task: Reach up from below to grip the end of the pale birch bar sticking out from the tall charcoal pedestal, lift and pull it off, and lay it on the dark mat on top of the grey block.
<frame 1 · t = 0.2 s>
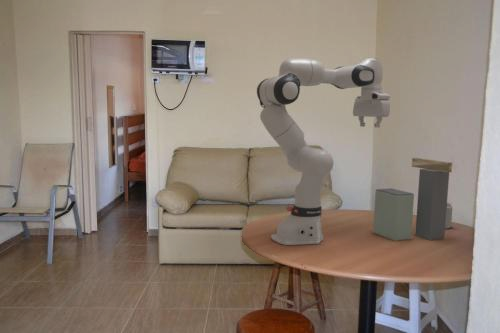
hand: (369, 127, 199), 48 cm above the table, tool pointing down, fingers open, 8 cm apart
can: (442, 227, 214), on the table
bar: (430, 169, 195), point 30 cm above the table, touching pedestal
grey block: (391, 235, 198), on the table
pedestal: (429, 236, 197), on the table
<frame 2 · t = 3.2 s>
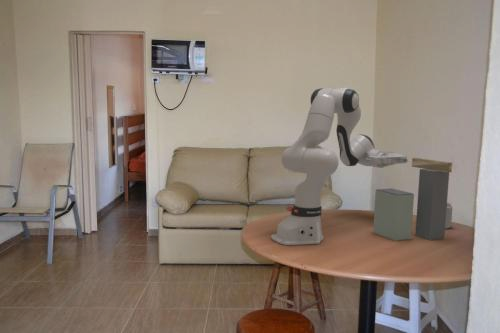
hand: (399, 160, 212), 32 cm above the table, tool horizontal, fingers open, 8 cm apart
nothing on the table moved.
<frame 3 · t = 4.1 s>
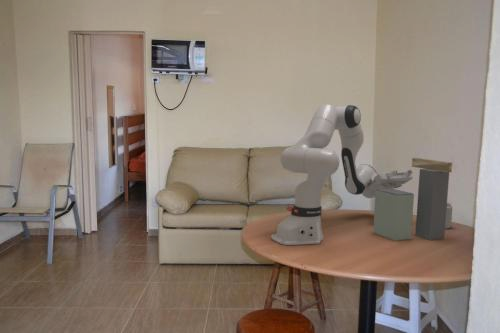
hand: (403, 171, 210), 27 cm above the table, tool pointing upward, fingers open, 8 cm apart
nothing on the table moved.
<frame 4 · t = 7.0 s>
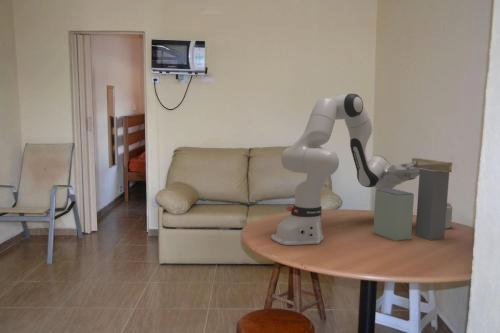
hand: (419, 162, 201), 32 cm above the table, tool pointing upward, fingers closed on bar, 2 cm apart
bar: (430, 169, 195), point 30 cm above the table, touching gripper, pedestal
everything else where it was.
when the fingers open (24 cm above the table, at t = 16.2 s): bar drops 2 cm, resting on grey block.
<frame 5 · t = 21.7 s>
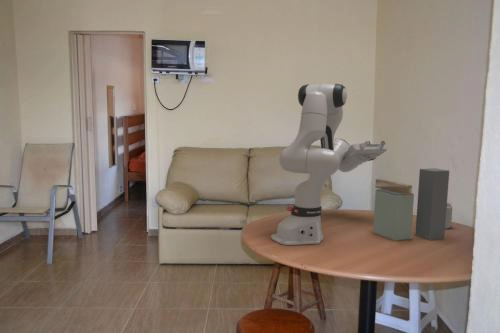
hand: (376, 142, 210), 40 cm above the table, tool pointing upward, fingers open, 8 cm apart
bar: (392, 191, 196), point 20 cm above the table, touching grey block
everything else where it was.
at the end: bar inside the target area on the grey block (0.6 cm from its centre), point 20.0 cm above the grey block's base; bar tilted 0°; the gripper is holding nothing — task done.
